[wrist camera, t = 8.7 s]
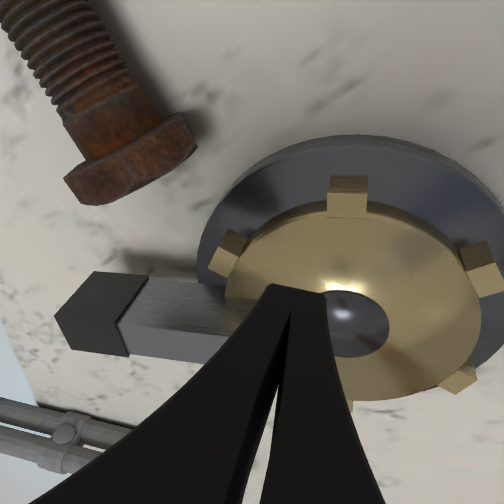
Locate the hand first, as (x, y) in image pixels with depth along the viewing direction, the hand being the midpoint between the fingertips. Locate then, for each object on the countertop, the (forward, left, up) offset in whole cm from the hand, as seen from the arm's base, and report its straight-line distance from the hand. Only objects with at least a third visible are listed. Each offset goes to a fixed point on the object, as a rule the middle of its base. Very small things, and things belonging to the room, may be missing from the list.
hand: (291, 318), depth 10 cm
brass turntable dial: (+1, +7, -8) cm, 10 cm away
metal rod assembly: (+15, +28, -10) cm, 33 cm away
